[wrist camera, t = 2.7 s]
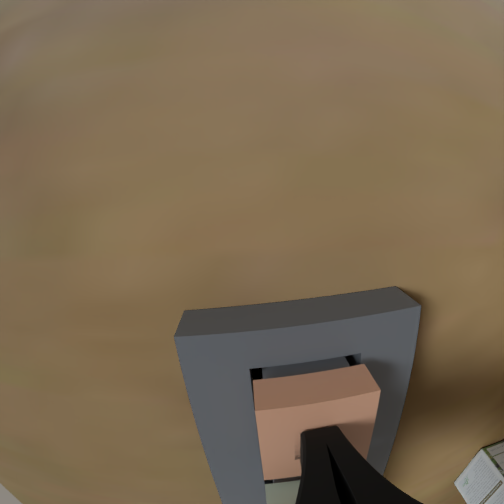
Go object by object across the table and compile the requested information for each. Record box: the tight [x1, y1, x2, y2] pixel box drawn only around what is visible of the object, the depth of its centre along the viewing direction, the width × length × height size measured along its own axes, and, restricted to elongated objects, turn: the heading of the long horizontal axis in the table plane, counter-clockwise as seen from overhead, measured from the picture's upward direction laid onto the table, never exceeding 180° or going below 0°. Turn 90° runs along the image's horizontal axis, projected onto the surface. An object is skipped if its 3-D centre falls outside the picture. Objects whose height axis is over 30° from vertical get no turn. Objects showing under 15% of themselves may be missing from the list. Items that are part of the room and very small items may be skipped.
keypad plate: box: [174, 286, 421, 504], centre depth 15 cm, size 18×10×2 cm, turn 5°
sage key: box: [265, 476, 301, 504], centre depth 12 cm, size 4×4×5 cm
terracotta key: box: [253, 356, 381, 480], centre depth 12 cm, size 4×4×5 cm
